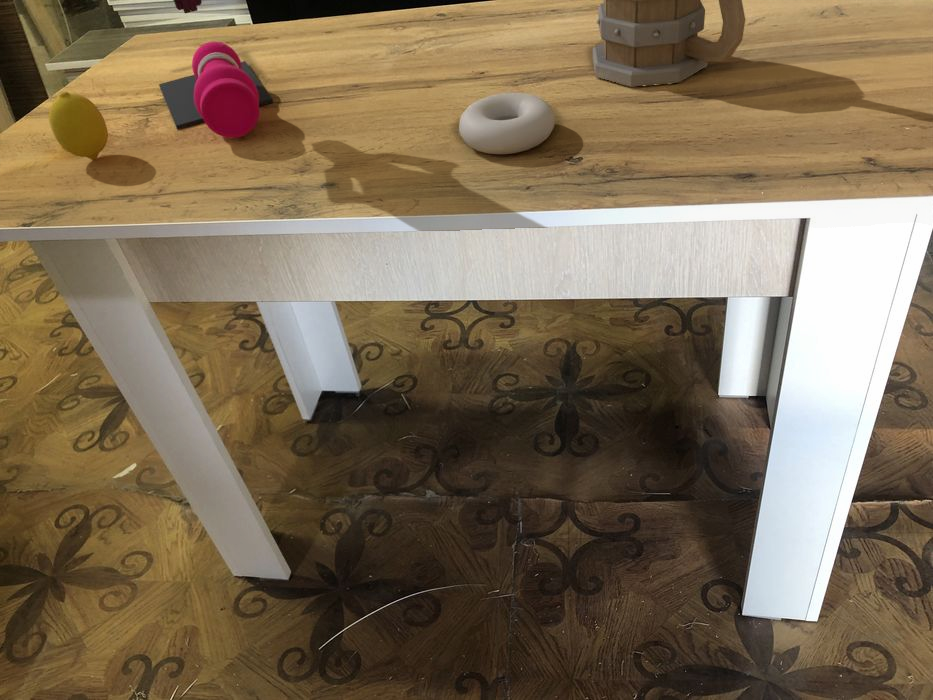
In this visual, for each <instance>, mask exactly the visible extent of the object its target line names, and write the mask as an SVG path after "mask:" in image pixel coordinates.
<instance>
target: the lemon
mask: <svg viewBox="0 0 933 700" xmlns="http://www.w3.org/2000/svg"><path fill="white" fill-rule="evenodd" d="M48 121H49V125H50V128H51V131H52V134H53V136H54V137H55V140H56V142H58V144H59V145H60V146H61V147H62V148H63V149H64V150H65V151H66V152H67V153H70V154H71V155H73V156H76V157H81V158H87V159H89V160H92V161H93V160H96V159H97V158H98V156H99V153H100V152H102V151H103V150H104V149H105V147H106V145H107V143H108V139H109V132H108V128H107V122H106V120H105V118H104V116H103V114H102V113H101V111H100V110H99V108H98V107H97V105H95V103H93V102H92V101H91V100H90V99H89V98H87V96H84V95H82V94H78V93H72V92H70V93H69V92H67V91H62V92H60V93H59V95H58V96H57V97H56V98H55V99H54V100H53V101H52V103H51V104H50V107H49V110H48Z"/></svg>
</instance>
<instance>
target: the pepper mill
mask: <svg viewBox="0 0 933 700" xmlns="http://www.w3.org/2000/svg"><path fill="white" fill-rule="evenodd" d="M241 62H242V61H241V59H240V57H239V55H238V54H237V52H236V51H235V49H233V48H232V47H231V46H230V45H228V44H226V43H223V42H221V41H208V42H206V43H203V44H201V45H200V46H199V47H198V48H197V49H196V51H195V52H194V54H193V56H192V60H191V68H192V73H193V75H195V77H196V79H197V81H196V83H195V87H194V102H195V106H196V108H197V110H198V112H199V114H200V115H201V116H202V118H203V120H204V121H205V122H204V123H205V125H206V126H207V127H208V129H210V130H211V132H213V133H215V134H217V135H218V136H221V137H224V138H229V139H230V138H233V139H235V138H238V137H239V138H240V137H243V136H246V135H247V134H248V133H251V131H252V130H253V129H254V128H255V127H256V125H257V124H258V121H259V118H260V106H259V94H258V90H257V88H256V85H255V84H254V82H253V81H252V79H251V78H250V77H249V75H248V74H247V73H245V72H244V71H243V70H242V66H241Z"/></svg>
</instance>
